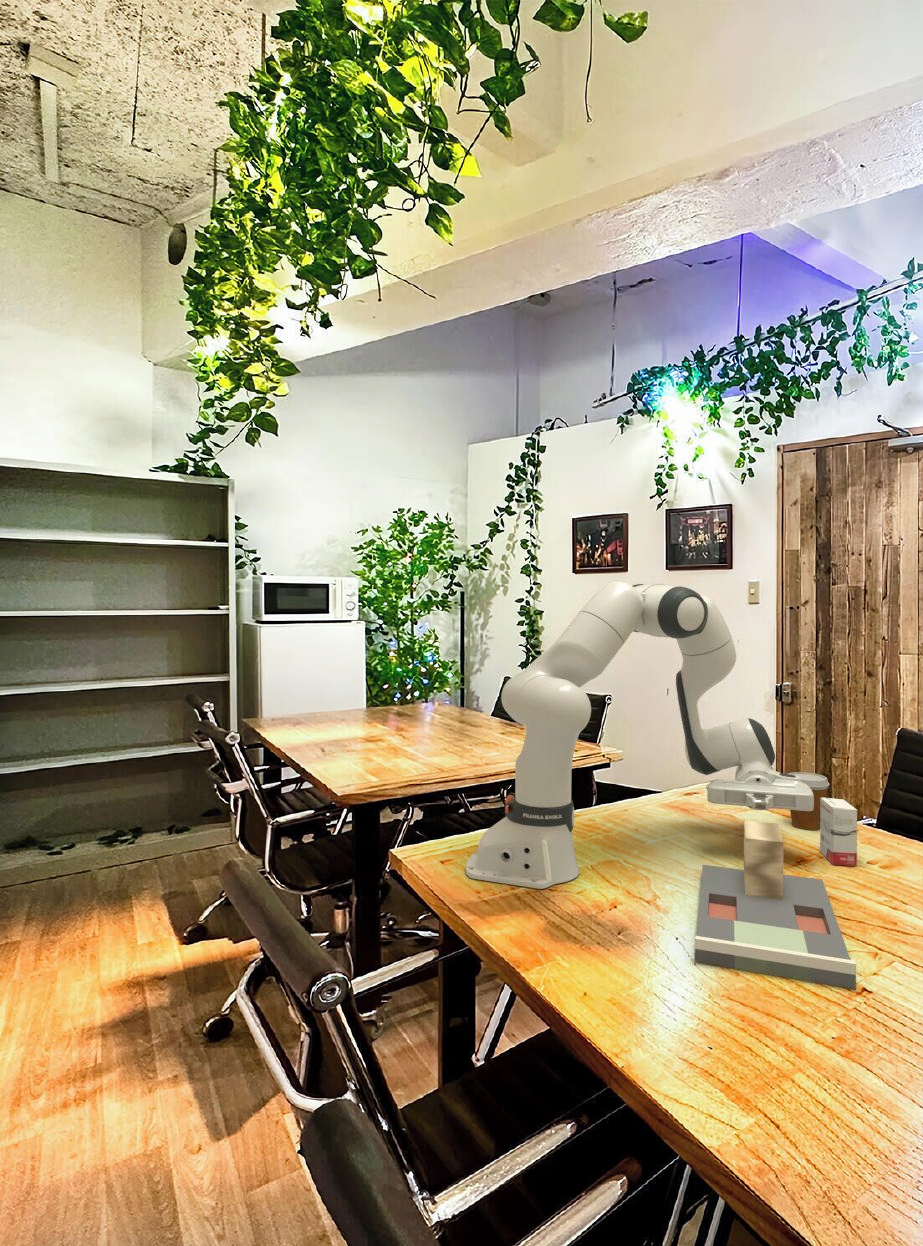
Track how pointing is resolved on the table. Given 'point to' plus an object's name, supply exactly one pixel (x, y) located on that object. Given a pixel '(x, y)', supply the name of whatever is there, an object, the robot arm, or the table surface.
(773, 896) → the maple block
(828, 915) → the trap runway
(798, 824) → the disposable coffee cup
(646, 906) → the table surface
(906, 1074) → the table surface
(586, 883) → the table surface
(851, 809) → the ink box
